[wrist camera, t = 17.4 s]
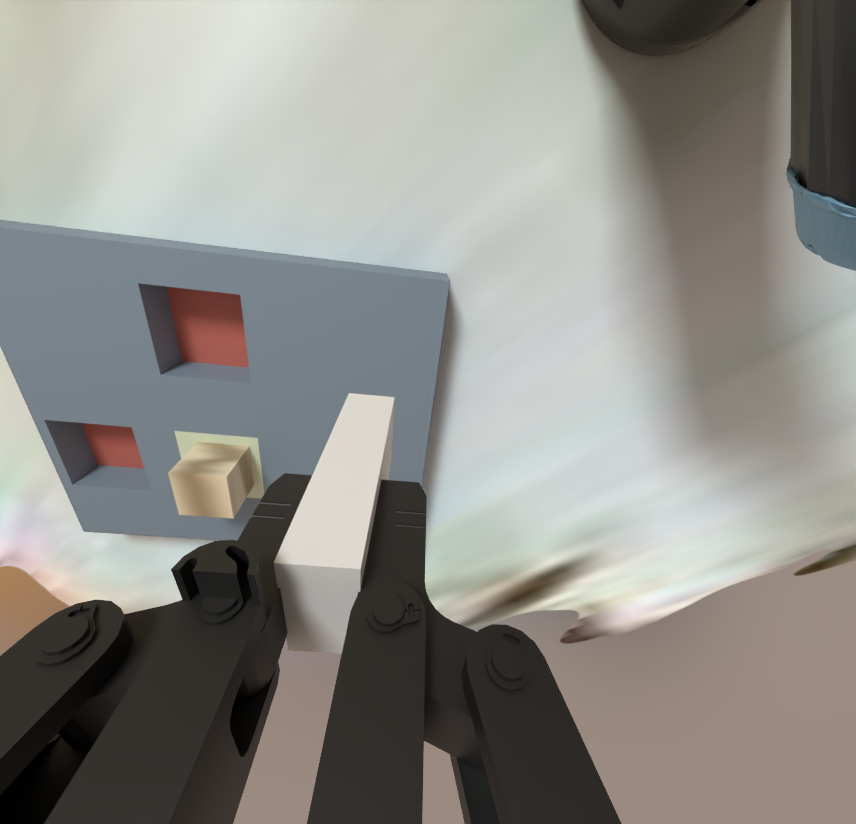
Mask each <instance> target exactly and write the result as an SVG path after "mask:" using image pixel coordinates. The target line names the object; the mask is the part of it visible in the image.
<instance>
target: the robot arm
mask: <svg viewBox="0 0 856 824" xmlns="http://www.w3.org/2000/svg"><path fill="white" fill-rule="evenodd" d="M582 1H583V3H584V5H585V7H586V9H587V11H588V13H589V14H590V16H591V18H592V19H593V21H594V22H595V23H596V25H597V26H598V27H599V28H600V30H601V31H602V32H603V33H604V34H605V35H606V36H607V37H608V38H610V39H611V40H612V41H613V42H615V43H616V44H618V45H620V46H621V47H623V48H625V49H627V50H630V51H633V52H635V53H640V54H645V55H667V54H672V53H677V52H680V51H684V50H686V49H689V48H692V47H694V46H696V45H698V44H700V43H702V42H704V41H705V40H707V39H709V38H711V37H712V36H714V35H716V34H717V33H719V32H720V31H722V30H724V29H725V28H727V27H729V26H730V25H732V24H733V23H735V22H736V21H737V20H739V19H740V18H741V17H743V16H744V15H745V14H746V13H748V12H749V11H750V10H751V9H752V8H754V7H755V6H756V5H757V4H758V3H759V2H760V1H761V0H582ZM786 175H787V180H788V182H789V185H790V187H791V188H792V189H793V196H794V210H795V225H796V231H797V234H798V237H799V239H800V241H801V242H802V244H803V245H804V246H805V247H806V248H807V249H809V250H810V251H812V252H813V253H815V254H817V255H820V256H821V257H822V258H823V259H824V260H825V261H827V262H829V263H832V264H835V265H838V266H841V267H844V268H847V269H851V270H855V271H856V0H791V158H790V161H789V164H788V167H787V173H786ZM394 398H395V397H388V396H376V395H364V394H353V393H349V394H348V396H347V399H346V401H345V403H344V405H343V408H342V410H341V412H340V414H339V417H338V419H337V421H336V423H335V426H334V428H333V430H332V432H331V435H330V437H329V439H328V441H327V444H326V446H325V448H324V450H323V453H322V455H321V457H320V459H319V462H318V464H317V466H316V468H315V471H314V473H313V475H302V474H289V473H284V474H283V475H282V476H281V477H279V478H278V479H277V480H276V481H274V482H273V483H272V484H271V485H269V487H268V489H267V490H266V492H265V494H264V495H263V497H262V499H261V501H260V504H258V506H257V507H256V509H255V511H254V513H253V516H252V518H250V519H249V521H248V523H247V525H246V526H245V528H244V530H243V532H242V533H241V535H240V537H239V538H238V540H237V541H236V540H222V541H215V542H212V543H209V544H206V545H203V546H200V547H198V548H197V549H195V550H193V551H192V552H190V553H189V554H187V555H185V556H184V557H183V558H182V559H181V560H180V561H179V562H178V563H177V564H176V565H175V566H174V567H173V568H172V569H171V570H172V573H173V575H174V578H175V581H176V583H177V586H178V589H179V591H180V594H181V596H182V599H183V600H181V601H178V602H175V603H172V604H168V605H165V606H160V607H156V608H151V609H147V610H142V611H138V612H133V613H129V614H123V612H122V610H121V608H120V607H118V606H117V605H116V604H114V603H113V602H112V601H104V600H92V601H87V602H82V603H78V604H75V605H73V606H71V607H68V608H66V609H64V610H62V611H59V612H57V613H55V614H54V615H52V616H51V617H49V618H48V619H46V620H45V621H43V622H42V623H41V624H39V625H38V626H36V627H35V628H34V629H33V630H31V631H30V632H29V633H28V634H26V635H25V636H24V637H23V638H22V639H21V640H19V641H18V642H17V643H16V644H14V645H13V646H12V647H11V648H9V649H8V650H7V651H6V652H5V653H3V654H2V655H1V656H0V824H233V822H234V819H235V815H236V812H237V809H238V806H239V803H240V800H241V797H242V793H243V791H244V787H245V784H246V781H247V778H248V775H249V772H250V769H251V766H252V763H253V759H254V756H255V753H256V750H257V747H258V744H259V741H260V737H261V734H262V731H263V728H264V725H265V722H266V719H267V716H268V713H269V709H270V706H271V703H272V700H273V697H274V694H275V691H276V688H277V685H278V679H279V672H280V669H279V664H278V660H279V657H280V654H281V651H282V648H283V645H284V642H285V639H287V645H288V650H294V651H311V652H327V653H342V655H341V660H340V666H339V670H338V675H337V680H336V685H335V690H334V694H333V700H332V704H331V709H330V714H329V719H328V724H327V728H326V733H325V739H324V743H323V748H322V753H321V758H320V763H319V768H318V773H317V777H316V782H315V787H314V792H313V797H312V802H311V806H310V811H309V816H308V821H307V824H422V800H423V798H422V797H423V748H424V746H423V745H424V744H423V743H424V741H426V742H428V743H430V744H432V745H434V746H436V747H437V748H439V749H441V750H443V751H445V752H447V753H449V754H450V757H451V762H452V766H453V771H454V775H455V780H456V785H457V789H458V794H459V799H460V803H461V808H462V813H463V818H464V822H465V824H621V822H620V820H619V818H618V815H617V813H616V811H615V809H614V807H613V804H612V802H611V800H610V799H609V796H608V794H607V792H606V789H605V787H604V785H603V783H602V781H601V779H600V776H599V774H598V772H597V770H596V768H595V766H594V763H593V761H592V759H591V757H590V755H589V753H588V751H587V748H586V746H585V744H584V742H583V740H582V738H581V735H580V733H579V731H578V729H577V727H576V725H575V722H574V720H573V718H572V716H571V714H570V712H569V710H568V707H567V705H566V703H565V701H564V699H563V696H562V694H561V692H560V690H559V688H558V686H557V684H556V681H555V679H554V677H553V675H552V673H551V671H550V668H549V666H548V664H547V662H546V660H545V657H544V656H543V654H542V653H541V652H540V650H539V648H538V647H537V645H536V644H535V642H534V641H533V640H531V639H530V638H529V637H528V636H527V635H525V634H524V633H523V632H522V631H520V630H518V629H515V628H513V627H511V626H508V625H490V626H487V627H485V628H483V629H480V630H479V631H478V632H476V631H474V630H471V629H469V628H466V627H464V626H462V625H459V624H457V623H454V622H453V621H451V620H449V619H447V618H445V617H444V616H443V615H442V614H440V613H439V612H438V611H437V610H436V609H435V608H434V606H433V605H432V603H431V602H430V600H429V598H428V595H427V593H426V589H425V540H426V495H425V493H424V491H423V489H422V487H421V485H420V483H419V482H407V481H394V480H388V479H389V473H390V467H391V455H392V436H393V417H394Z"/></svg>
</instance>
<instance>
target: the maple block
mask: <svg viewBox="0 0 856 824" xmlns="http://www.w3.org/2000/svg"><path fill="white" fill-rule="evenodd" d="M168 475H169V479H170V482H171V486H172V490H173V494H174V497H175V501H176V505H177V509H178V512H179V515H190V516H204V517H218V518H232V519H234V517H235V515H236V514H237V512H238V510H239V509H240V507H241V506H242V504H243V502H244V501H245V499H246V497H247V496H248V494H249V492H250V491H251V489H252V487H253V486H254V480H253V472H252V465H251V457H250V450H249V446H241V445H229V444H218V443H206V442H197V443H196V444H195V445H194V446H193V447H192V448H191V449H190V450H189V451H188V452H187V454H186V455H185V456H184V457H183V458H182V459H181V460H180V461H179V462H178V463H177V464H176V465H175V466H174V467H173V468H172V469H171V470H170V471H169V472H168Z"/></svg>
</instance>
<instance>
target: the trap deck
mask: <svg viewBox="0 0 856 824" xmlns="http://www.w3.org/2000/svg"><path fill="white" fill-rule="evenodd" d="M449 283H450V280H449V278H448V276H447V274H444V273H436V272H427V271H419V270H411V269H402V268H394V267H386V266H378V265H369V264H361V263H353V262H344V261H336V260H328V259H319V258H311V257H303V256H295V255H286V254H278V253H270V252H261V251H253V250H245V249H236V248H228V247H220V246H211V245H203V244H195V243H187V242H178V241H170V240H162V239H153V238H145V237H137V236H128V235H120V234H112V233H104V232H95V231H87V230H79V229H70V228H62V227H54V226H45V225H37V224H29V223H20V222H12V221H4V220H0V347H1V349H2V351H3V353H4V355H5V358H6V360H7V362H8V364H9V367H10V369H11V371H12V373H13V375H14V378H15V380H16V382H17V384H18V387H19V389H20V391H21V393H22V395H23V398H24V400H25V402H26V404H27V406H28V409H29V411H30V413H31V415H32V418H33V420H34V422H35V424H36V426H37V429H38V431H39V433H40V435H41V438H42V440H43V442H44V444H45V446H46V449H47V451H48V453H49V455H50V458H51V460H52V462H53V464H54V466H55V469H56V471H57V473H58V475H59V478H60V480H61V482H62V484H63V486H64V489H65V491H66V493H67V495H68V498H69V500H70V502H71V504H72V506H73V509H74V511H75V513H76V515H77V517H78V520H79V522H80V524H81V526H82V529H83V531H84V532H99V533H114V534H130V535H145V536H161V537H176V538H192V539H207V540H236V541H237V540H238V538H239V537H240V535H241V533H242V532H243V530H244V528H245V526H246V525H247V523H248V521H249V519H250V518H252V516H253V513H254V511H255V509H256V507H257V506H258V504H260V501H261V499H262V497H263V495H264V494H265V492H266V490H267V489H268V487H269V485H271V484H272V483H273V482H274V481H276V480H277V479H278V478H279V477H281V476H282V475H283V474H284V473H289V474H302V475H313V473H314V471H315V468H316V466H317V464H318V462H319V459H320V457H321V455H322V453H323V450H324V448H325V446H326V444H327V441H328V439H329V437H330V435H331V432H332V430H333V428H334V426H335V423H336V421H337V419H338V417H339V414H340V412H341V410H342V408H343V405H344V403H345V401H346V399H347V396H348V394H349V393H353V394H364V395H376V396H388V397H395V398H394V417H393V436H392V455H391V467H390V473H389V479H388V480H394V481H407V482H419V483H420V485H421V487H422V479H423V472H424V465H425V458H426V450H427V443H428V436H429V429H430V421H431V414H432V407H433V400H434V392H435V385H436V378H437V370H438V363H439V356H440V349H441V341H442V334H443V327H444V320H445V312H446V305H447V298H448V291H449ZM197 442H206V443H218V444H229V445H241V446H249V450H250V457H251V465H252V472H253V480H254V486H253V487H252V489H251V491H250V492H249V494H248V496H247V497H246V499H245V501H244V502H243V504H242V506H241V507H240V509H239V510H238V512H237V514H236V515H235V517H234V519H232V518H218V517H204V516H190V515H179V512H178V509H177V505H176V501H175V497H174V494H173V490H172V486H171V482H170V479H169V475H168V472H169V471H170V470H171V469H172V468H173V467H174V466H175V465H176V464H177V463H178V462H179V461H180V460H181V459H182V458H183V457H184V456H185V455H186V454H187V452H188V451H189V450H190V449H191V448H192V447H193V446H194V445H195V444H196V443H197Z"/></svg>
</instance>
